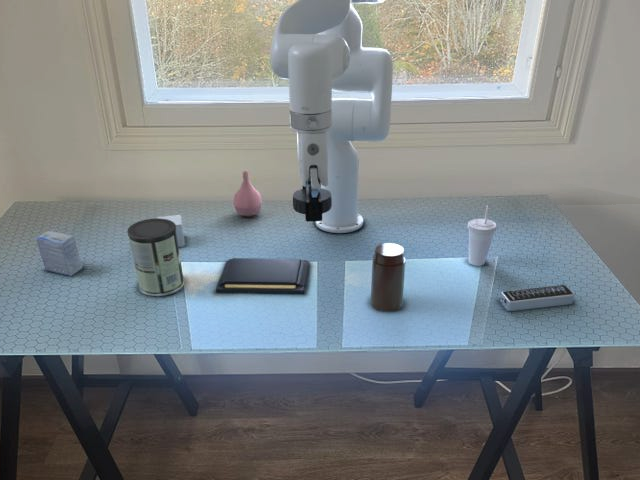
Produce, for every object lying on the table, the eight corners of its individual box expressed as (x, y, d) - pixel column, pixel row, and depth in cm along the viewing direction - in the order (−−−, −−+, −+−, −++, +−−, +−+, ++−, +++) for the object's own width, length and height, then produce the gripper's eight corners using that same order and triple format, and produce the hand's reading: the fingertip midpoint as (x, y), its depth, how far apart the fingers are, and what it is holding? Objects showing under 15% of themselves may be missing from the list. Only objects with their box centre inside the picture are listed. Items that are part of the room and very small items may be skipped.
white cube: (161, 249, 162) (157, 226, 158) (160, 239, 166) (156, 217, 163) (185, 246, 162) (181, 224, 159) (183, 236, 167) (180, 214, 164)
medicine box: (83, 268, 154) (74, 235, 149) (70, 277, 151) (61, 243, 146) (57, 262, 157) (48, 229, 152) (44, 271, 154) (35, 237, 148)
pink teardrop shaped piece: (238, 208, 181) (234, 166, 174) (264, 209, 180) (262, 167, 173) (232, 220, 175) (227, 177, 168) (259, 221, 174) (256, 177, 167)
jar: (364, 305, 138) (366, 251, 130) (380, 292, 142) (383, 239, 134) (392, 315, 134) (395, 260, 127) (408, 301, 139) (412, 247, 131)
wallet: (310, 255, 152) (303, 288, 140) (310, 263, 154) (303, 295, 141) (227, 253, 154) (213, 285, 142) (227, 260, 156) (214, 292, 143)
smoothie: (491, 269, 149) (500, 212, 141) (462, 267, 150) (470, 210, 142) (490, 256, 154) (499, 201, 146) (462, 255, 155) (470, 199, 147)
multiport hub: (572, 303, 136) (575, 294, 135) (508, 311, 134) (509, 302, 133) (562, 293, 140) (564, 284, 138) (499, 300, 138) (500, 291, 136)
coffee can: (153, 271, 152) (142, 215, 144) (192, 277, 149) (184, 221, 141) (129, 293, 144) (117, 234, 136) (170, 299, 141) (160, 240, 133)
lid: (321, 197, 130) (321, 185, 128) (337, 210, 124) (338, 197, 122) (287, 203, 127) (286, 191, 126) (302, 217, 122) (302, 204, 120)
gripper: (336, 133, 109) (336, 230, 119) (327, 105, 123) (327, 194, 133) (292, 134, 109) (295, 232, 119) (288, 107, 123) (291, 196, 133)
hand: (312, 211), depth 126 cm, fingers closed on lid, 7 cm apart
